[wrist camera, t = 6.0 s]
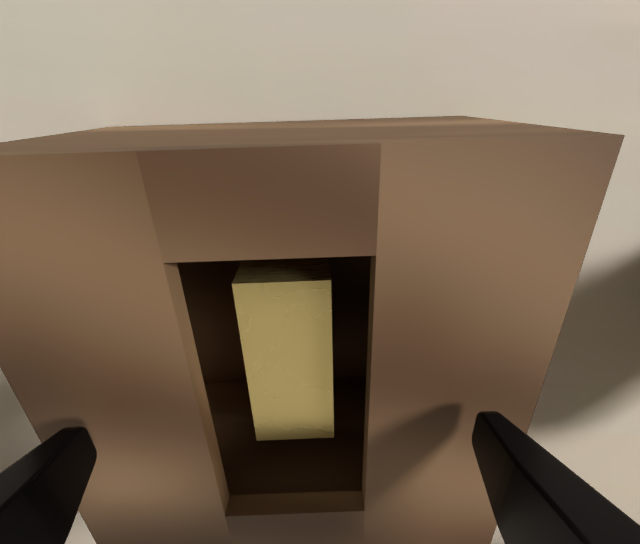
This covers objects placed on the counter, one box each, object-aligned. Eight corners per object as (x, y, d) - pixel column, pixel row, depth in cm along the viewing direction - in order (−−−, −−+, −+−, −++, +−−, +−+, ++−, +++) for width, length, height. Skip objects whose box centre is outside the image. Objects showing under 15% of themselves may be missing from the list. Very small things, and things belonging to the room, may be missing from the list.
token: (327, 339, 15) (334, 437, 11) (272, 341, 15) (256, 440, 11) (324, 217, 13) (331, 280, 9) (259, 220, 13) (232, 283, 9)
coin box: (425, 382, 17) (490, 544, 11) (180, 392, 17) (105, 560, 11) (461, 116, 12) (624, 135, 6) (108, 126, 12) (-114, 158, 6)
